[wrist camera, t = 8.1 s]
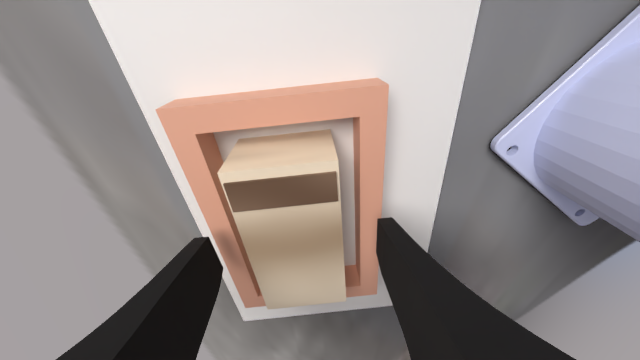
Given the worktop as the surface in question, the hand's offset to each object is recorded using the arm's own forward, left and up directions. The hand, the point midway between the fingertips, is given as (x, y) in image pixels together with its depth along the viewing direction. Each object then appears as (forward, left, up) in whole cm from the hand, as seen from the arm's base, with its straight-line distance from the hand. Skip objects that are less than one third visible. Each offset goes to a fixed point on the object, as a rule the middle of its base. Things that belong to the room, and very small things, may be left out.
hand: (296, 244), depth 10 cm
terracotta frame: (0, 0, -3) cm, 3 cm away
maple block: (0, 0, -2) cm, 3 cm away
